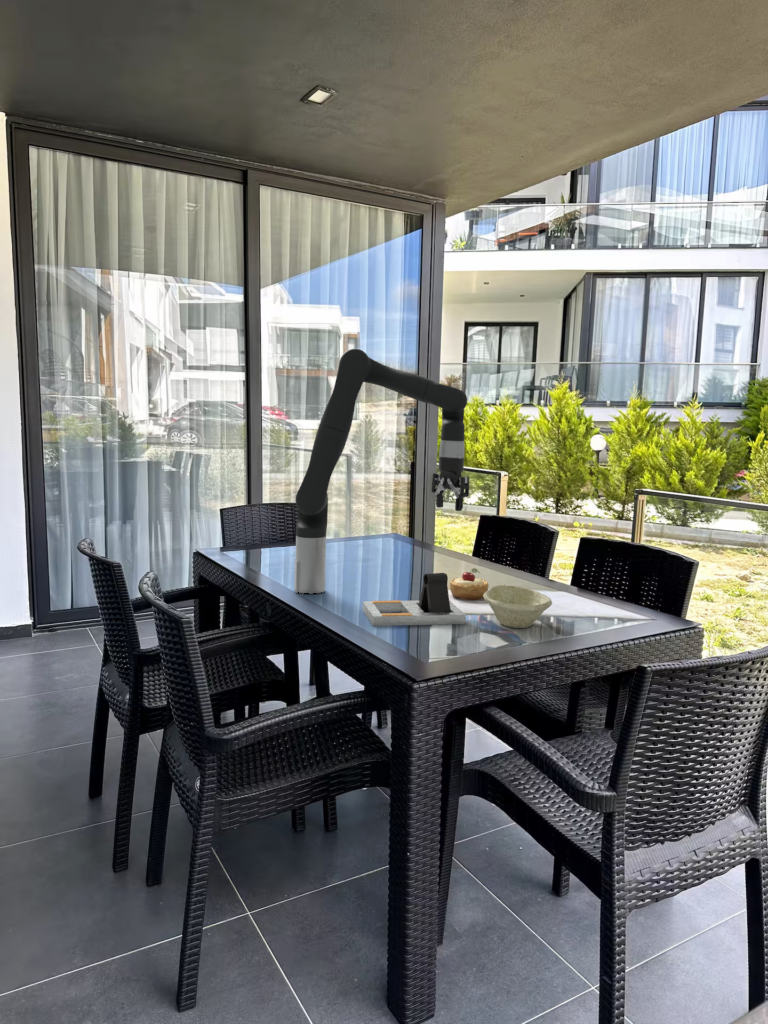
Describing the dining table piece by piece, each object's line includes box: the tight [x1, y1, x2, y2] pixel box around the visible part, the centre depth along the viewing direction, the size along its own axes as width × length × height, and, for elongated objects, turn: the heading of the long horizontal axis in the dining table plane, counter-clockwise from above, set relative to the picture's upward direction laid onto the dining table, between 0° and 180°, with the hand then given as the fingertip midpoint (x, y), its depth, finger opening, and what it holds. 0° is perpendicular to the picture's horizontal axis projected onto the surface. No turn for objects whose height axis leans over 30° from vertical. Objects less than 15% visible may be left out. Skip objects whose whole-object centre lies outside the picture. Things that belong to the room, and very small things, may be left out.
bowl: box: [483, 584, 553, 629], centre depth 195 cm, size 14×18×15 cm
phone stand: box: [418, 572, 451, 613], centre depth 201 cm, size 9×6×12 cm, turn 25°
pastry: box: [449, 568, 489, 601], centre depth 226 cm, size 12×12×9 cm
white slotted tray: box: [362, 599, 467, 627], centre depth 200 cm, size 25×16×3 cm, turn 101°
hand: (448, 509), depth 224 cm, fingers open, 8 cm apart
